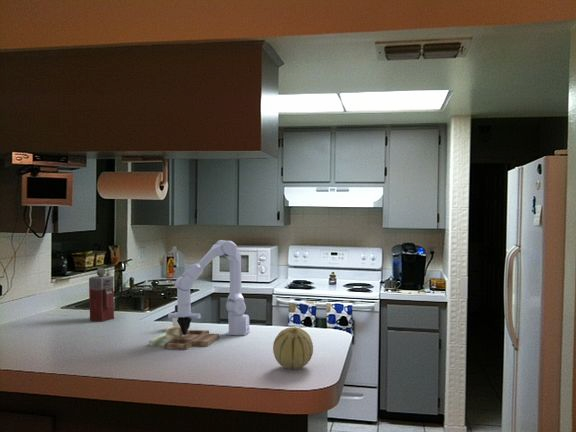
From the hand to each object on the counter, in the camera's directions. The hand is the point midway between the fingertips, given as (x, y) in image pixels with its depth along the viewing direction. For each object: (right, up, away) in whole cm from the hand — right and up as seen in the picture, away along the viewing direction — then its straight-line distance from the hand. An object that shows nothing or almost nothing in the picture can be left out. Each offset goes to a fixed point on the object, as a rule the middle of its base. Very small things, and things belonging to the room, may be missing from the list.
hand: (184, 334), depth 230 cm
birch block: (-4, -1, +1) cm, 5 cm away
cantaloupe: (+48, -3, -43) cm, 64 cm away
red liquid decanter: (-54, -4, +51) cm, 75 cm away
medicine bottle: (-7, -3, +25) cm, 26 cm away
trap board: (+1, -3, 0) cm, 3 cm away
